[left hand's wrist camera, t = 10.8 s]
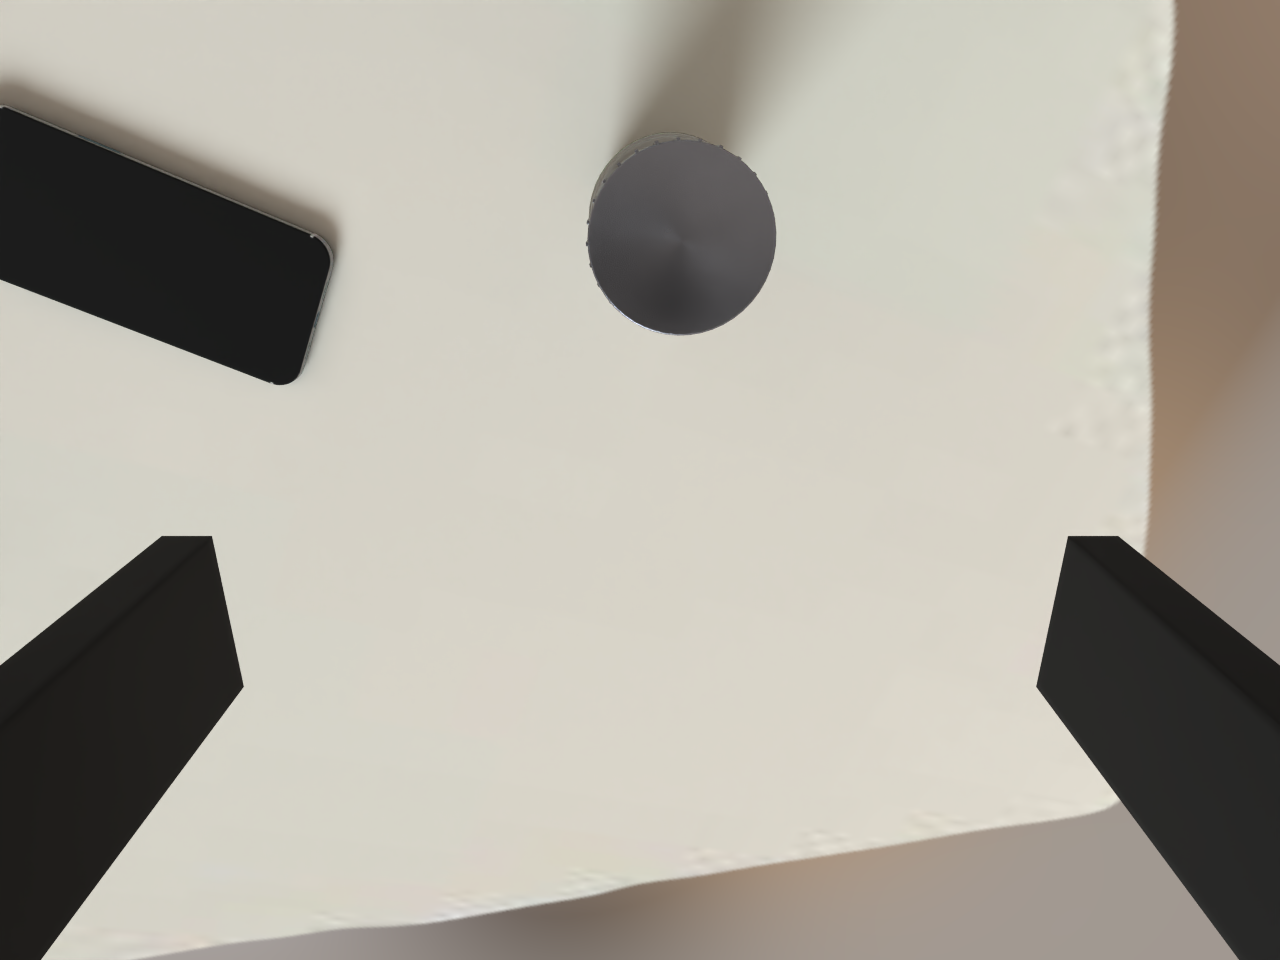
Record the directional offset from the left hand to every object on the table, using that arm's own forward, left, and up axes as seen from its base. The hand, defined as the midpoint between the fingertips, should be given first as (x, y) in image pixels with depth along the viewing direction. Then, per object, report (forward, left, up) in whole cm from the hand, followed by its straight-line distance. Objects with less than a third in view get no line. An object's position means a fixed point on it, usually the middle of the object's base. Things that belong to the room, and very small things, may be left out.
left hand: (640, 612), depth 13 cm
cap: (-1, +5, -8) cm, 10 cm away
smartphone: (-20, -8, -27) cm, 34 cm away
